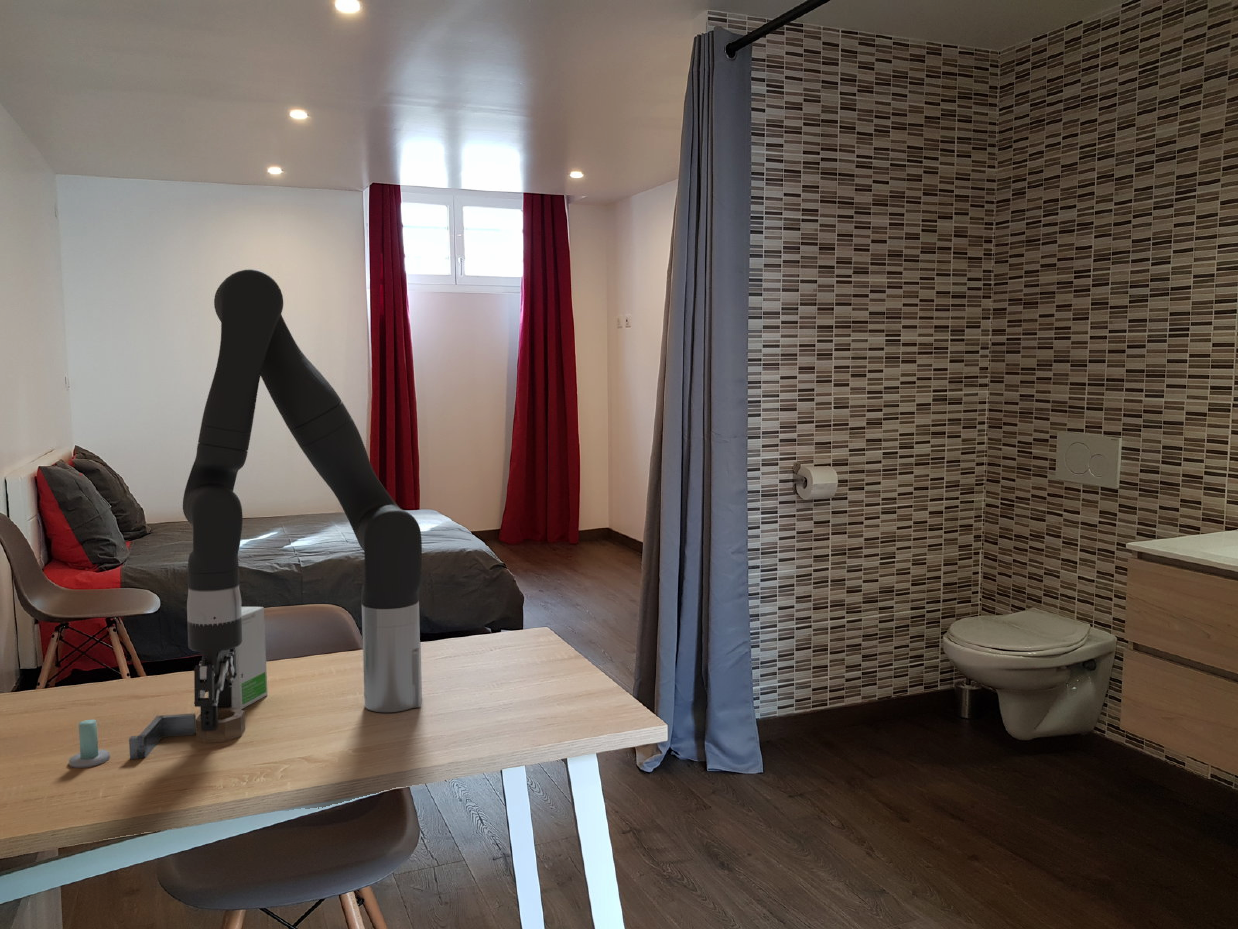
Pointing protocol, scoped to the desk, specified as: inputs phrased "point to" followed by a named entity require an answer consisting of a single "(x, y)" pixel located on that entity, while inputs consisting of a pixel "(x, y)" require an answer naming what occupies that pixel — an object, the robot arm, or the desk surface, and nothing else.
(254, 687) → the skincare box
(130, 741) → the bent rail
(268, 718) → the desk surface
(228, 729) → the walnut ring
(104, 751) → the teal flanged peg
